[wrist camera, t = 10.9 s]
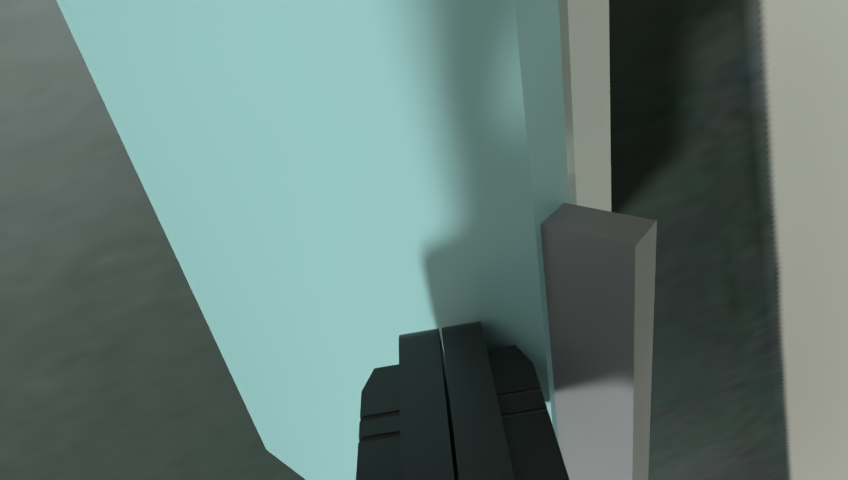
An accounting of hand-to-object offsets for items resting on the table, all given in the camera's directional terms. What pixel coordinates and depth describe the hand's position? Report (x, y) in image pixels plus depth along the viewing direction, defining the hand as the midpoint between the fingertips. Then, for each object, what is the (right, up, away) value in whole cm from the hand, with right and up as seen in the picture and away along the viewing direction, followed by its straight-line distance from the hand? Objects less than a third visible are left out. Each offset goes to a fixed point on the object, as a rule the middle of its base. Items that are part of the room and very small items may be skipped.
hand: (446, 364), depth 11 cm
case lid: (-2, +2, +4) cm, 5 cm away
